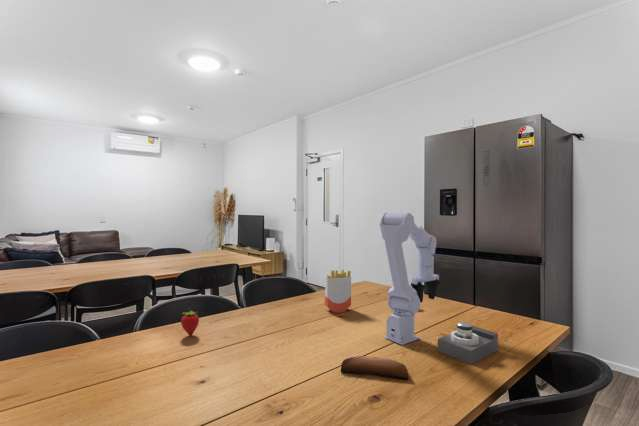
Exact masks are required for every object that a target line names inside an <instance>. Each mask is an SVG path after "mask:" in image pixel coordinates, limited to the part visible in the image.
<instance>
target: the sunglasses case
mask: <svg viewBox="0 0 639 426" xmlns="http://www.w3.org/2000/svg"><path fill="white" fill-rule="evenodd" d="M340 373H354V374H356V373H358V374H359V373H360V374H371V375H379V376H380V375H381V376H386V377H397V378H404V379H406V380H409V376H408V374H409V372H408V368H407V366H406V365H405V364H403V363H402V362H399V361H397V360H394V359H391V358H385V357H384V358H383V357H376V356H367V355H366V356H365V355H358V356H351V357H347V358H344V359H343V360H342V362H341V365H340Z"/></svg>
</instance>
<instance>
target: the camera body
mask: <svg viewBox="0 0 639 426" xmlns="http://www.w3.org/2000/svg"><path fill="white" fill-rule="evenodd" d="M498 341H499V333H498V332H494V331H491V330H489V329H488V330H487V329H484V328H480V327H477V326H473V325H472V339H464V338H460V337H457V330H452V331H451V332H450V333H448V334H446V335H444V336H441V337H439V338H437V352H438V353H441V354H443V355H445V356H448V357H451V358H453V359H457V360H459V361H461V362H464V363H466V364H469V365H473V364H475V363H477V362H478V361H480V360H482V359H484V358H486V357H488V356H490V355H492V354H494V353H496V352H498V349H499V343H498Z"/></svg>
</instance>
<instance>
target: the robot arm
mask: <svg viewBox="0 0 639 426" xmlns="http://www.w3.org/2000/svg"><path fill="white" fill-rule="evenodd" d="M379 228H380V232H381V238H382V239H383V240H384V243H385V244H384V245H385V250H386V256H387V260H388V261H387V262H388V265H389V266H388V267H389V270H390V275H391V281H392V285H393V286H392V287H390V288H389V290H388V291H387V305H388V307H389V309H390V310H391V312H392V313H391V315H389V316H388V317H387V318H386V333H385V335H384V339H387V340H389V341H392V342H393V343H396V344H399V345H402V346H403V345H406V344H410V343H411V342H414V341H417V340H420V336H417V335H416V334H415V315H416V314H418V312H419V311H420V308H421V303H423V301H424V292H425V288H427V295H428V299H430V300H435V297H436V293H437V290H438V288H439V286H440V285H441V280H440V274H435V273H434V267H435V265H434V261H435V260H434V258H435V257H434V255H435V254H436V248H437V243H438V242H437V238H436V236H434V235H433V234H430V233H428V232H427V231H426V230H425V228H423V226H422V225H417V224H416V223H415V217H414V215H413V214H412V213H410V212H406V213H403V212H402V213H397V212H396V213H395V212H394V213H393V212H384V213H383V214H382V215H381V218H380V221H379ZM409 238H410V239H411V240H412V241H413V242H414V243H415V247H416V248H417V249H418V254H417V255H418V257H417V261H418V263H417V264H418V267H417V274H418V275H417V276H415V277H413V278H411V282H409V278H408V272H407V266H406V261H405V260H406V259H405V255H404V251H403V243H404V242H407V241H408V239H409ZM423 283H425V284H426V285H425V284H423Z"/></svg>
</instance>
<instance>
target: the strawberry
mask: <svg viewBox="0 0 639 426" xmlns="http://www.w3.org/2000/svg"><path fill="white" fill-rule="evenodd" d="M197 313H198V311H193V310H192V309H189V311H188V312H181V314H183V316H182V318H181V319H180V323H181V326H182V329H183V330H184V331H185V332H186V333H187V335H188V336H189V337H191V336H193V334H194V333H195V331H196V330H197V328H198V325H199V321H200V317H199V316H198V314H197Z"/></svg>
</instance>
